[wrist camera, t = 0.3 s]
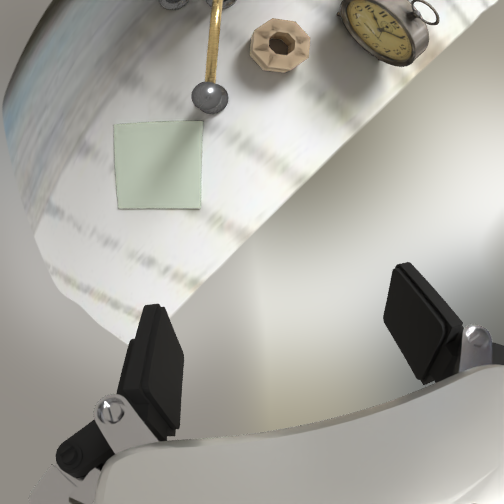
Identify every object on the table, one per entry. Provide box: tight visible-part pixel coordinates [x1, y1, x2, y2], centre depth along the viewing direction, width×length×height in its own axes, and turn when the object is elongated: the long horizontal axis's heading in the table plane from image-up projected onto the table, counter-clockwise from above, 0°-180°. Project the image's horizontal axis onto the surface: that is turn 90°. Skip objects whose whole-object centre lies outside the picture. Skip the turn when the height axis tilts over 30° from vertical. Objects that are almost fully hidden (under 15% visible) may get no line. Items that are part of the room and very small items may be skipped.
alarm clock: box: [337, 0, 439, 67], centre depth 21 cm, size 11×5×16 cm, turn 46°
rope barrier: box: [159, 0, 236, 114], centre depth 22 cm, size 19×10×14 cm, turn 176°
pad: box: [114, 121, 203, 209], centre depth 36 cm, size 12×12×1 cm
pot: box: [250, 18, 310, 73], centre depth 28 cm, size 6×6×4 cm
